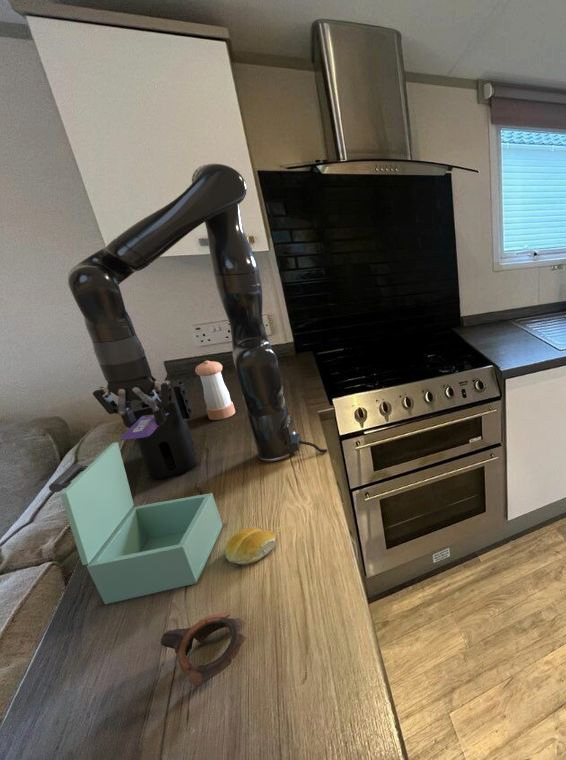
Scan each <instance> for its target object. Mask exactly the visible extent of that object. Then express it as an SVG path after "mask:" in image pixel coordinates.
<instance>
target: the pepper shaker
mask: <svg viewBox="0 0 566 760" xmlns="http://www.w3.org/2000/svg"><path fill="white" fill-rule="evenodd" d="M194 370H195V371H194V373H195V374H196V375H197V376H199V377H200V381H201V385H202V388H203V389H202V390H203V399H204V402H205V405H206V408H205V410H206V414H207V417H208V419H209V420H212V421H218V420H225V419H228V418H229V417H232V416H234V415H235V414H236V409H235V406H234V402H233V401H232V400H231V395H230V392H229V390H228V388H227V386H226V383H225V382H224V378H223V375H222V371H223V365H222V364H221V363H220V362H219V361H214V360H213V361H211V360H205V361H203V362H202V363H200V364H199V365H196V367H195V369H194Z"/></svg>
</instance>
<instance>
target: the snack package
mask: <svg viewBox="0 0 566 760" xmlns="http://www.w3.org/2000/svg"><path fill="white" fill-rule="evenodd" d="M165 414H166V416H167V415H168V414H169V413H165ZM158 426H159V425H157V423H156V420H155V417H154V415H146V416H142V417H140V418H139V419H138V420H137V421H136V422H135V423H134V424H133V425H132V426H131V427H130V428H128V429H127V430H126V431H125V433H124V434H123V436H122V437H121V438H120V439H119V441H126V440H127V441H128V440H134V439H135V440H136V438H143V437H148V436H150V435H151V434H152V433H153V432H154V431H155V430H156V428H157V427H158Z"/></svg>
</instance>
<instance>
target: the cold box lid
mask: <svg viewBox="0 0 566 760" xmlns="http://www.w3.org/2000/svg"><path fill="white" fill-rule="evenodd" d="M48 490H49V492H53V493H60V494H59V495H60V498H61V499H60V500H61V502H62V505H63V508H64V511H65V514H66V517H67V520H68V523H69V526H70V530H71V532H72V533H71V534H72V536H73V539H74V542H75V545H76V548H77V549H76V550H77V552H78V554H79V559H80V562H81V565H82V566H86V565H87V566H88V564H89V563H90V562H91V561H92V559H93V558H94V557H95V555H96V554H97V553H98V551H99V550H100V549H101V548H102V546H103V545H104V544H105V542H106V541H107V540H108V538H109V537H110V536H111V534H112V533H113V532H114V531H115V529H116V528H117V527H118V525H119V524H120V523H121V521H122V520H123V519H124V517H125V516H126V515H127V514H128V512H129V511H130V510H131V508H132V507H134V506H135V504H134V500H133V496H132V492H131V488H130V485H129V480H128V477H127V472H126V469H125V464H124V460H123V457H122V453H121V449H120V445H119V442H118V441H116V442H112V443H111V444H110V445H109V446H107V448H106V449H104V451H102V452H101V454H99V456H97V457H96V458H95V459H94V460H93V461H92V462H91V463H90V464H89V465H82V464H80V463H73V464H71V465H70V466H69V467H67V469H65V470H64V471H63V472H62V473H61V474H60V475H59V476H58V477H56V478H55V480H53V482H52V483H50V484H49V486H48Z"/></svg>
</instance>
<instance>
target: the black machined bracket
mask: <svg viewBox="0 0 566 760" xmlns="http://www.w3.org/2000/svg"><path fill="white" fill-rule="evenodd" d="M153 390H154V391H155V392H156V393H157V394H158V398H159V399H160V400H161V391H159V389H158V387H157V386H155V387H154V389H153ZM187 394H188V393H187V391H186V389H185V385H184V382H183V379H176V380H174V381H172V402H171V403H170V404H169V405H168V406H167V407H165V408H164V411H165V413H169V414H168V415H167V419H166V420H165V422H164V423H163V424H162V425H159V426H158V427H157V428H156V430H155V431H154V432H153V433H152V434H151V435H150V436H148V437H143V438H135V441H136V443H137V446H138V448H139V451H140V454H141V456H142V459H143V461H144V464H145V467H146V470H147V473H148V474H149V477H150V478H151V479H153V480H164V479H168V478H171V477H175V476H178V475H181V474H184V473H187V472H189V471H190V470H193V468H194V467H195V466H196V465H197V459H196V458H197V457H196V456H197V455H196V450H195V443H194V440H193V436H192V433H191V430H190V427H189V425H188V421H187V419H188V420H190V419H192V418H193V417H194V415H193V410H192V407H191V405H190V401H189V397H188V396H187ZM130 411H133V413H134V416H135V418H136V421H137V420H138V419H139V418H140V417H142V416H146V415H153V411H154V410H153V409H152V408H151V407H150V406H149V405H148V404H145V403H144V402H143V400H133V401H132V402H131V409H130ZM170 456H171V457H172V458H173V462H174V464H175V466H174V467H172V468H169V467H168V465H167V462H166V460H165V457H170Z"/></svg>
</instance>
